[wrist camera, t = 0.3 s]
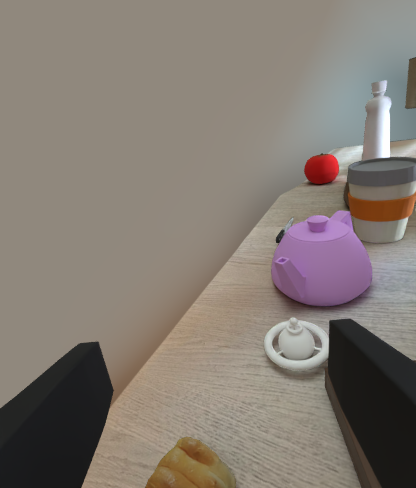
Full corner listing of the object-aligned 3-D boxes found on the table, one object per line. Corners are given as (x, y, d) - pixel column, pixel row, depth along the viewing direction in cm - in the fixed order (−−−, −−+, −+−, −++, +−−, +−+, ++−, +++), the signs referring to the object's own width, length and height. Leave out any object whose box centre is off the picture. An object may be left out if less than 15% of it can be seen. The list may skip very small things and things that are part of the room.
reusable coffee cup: (334, 231, 67) (334, 166, 61) (383, 219, 68) (388, 154, 62) (371, 252, 55) (376, 175, 49) (430, 237, 56) (441, 160, 50)
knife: (292, 222, 76) (292, 215, 76) (295, 222, 76) (295, 215, 75) (276, 246, 65) (275, 238, 64) (279, 246, 65) (278, 238, 64)
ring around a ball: (341, 377, 32) (321, 328, 39) (339, 338, 30) (318, 294, 37) (269, 383, 33) (262, 335, 41) (262, 346, 31) (256, 302, 38)
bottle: (368, 167, 114) (372, 83, 103) (393, 167, 107) (400, 77, 95) (356, 173, 110) (358, 85, 98) (381, 173, 103) (387, 79, 91)
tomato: (337, 185, 99) (337, 154, 95) (303, 187, 105) (301, 158, 100) (339, 177, 109) (339, 148, 105) (307, 179, 114) (306, 152, 110)
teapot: (309, 249, 61) (306, 194, 56) (392, 266, 50) (398, 199, 45) (243, 302, 48) (232, 236, 43) (335, 340, 37) (334, 258, 32)
